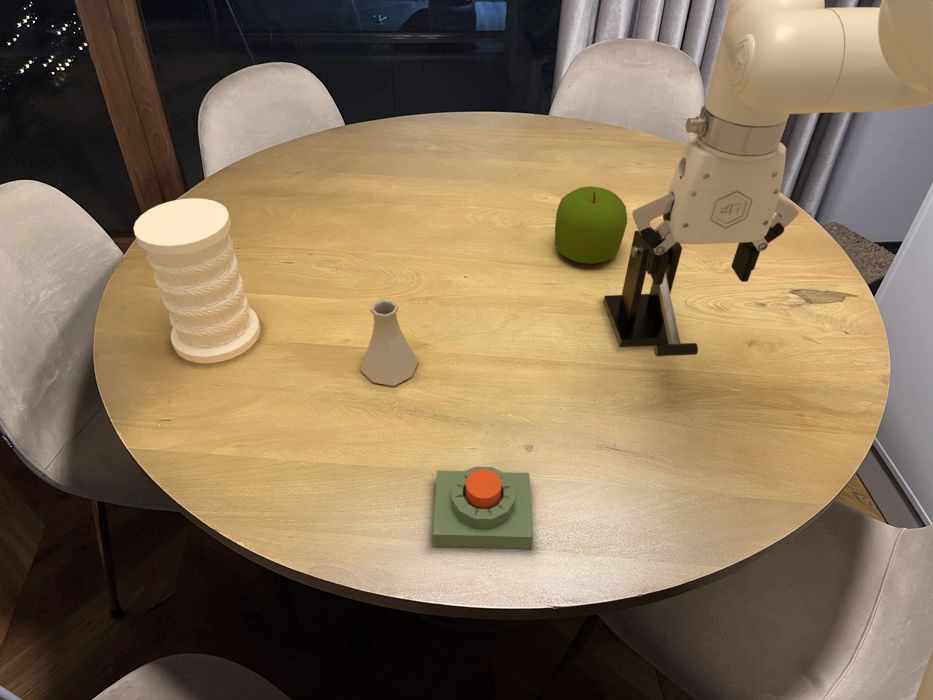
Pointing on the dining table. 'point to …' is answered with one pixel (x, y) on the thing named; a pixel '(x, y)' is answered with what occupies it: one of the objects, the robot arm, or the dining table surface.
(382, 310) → the flask
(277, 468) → the dining table surface
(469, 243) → the dining table surface
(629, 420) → the dining table surface
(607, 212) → the apple
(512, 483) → the button block
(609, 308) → the switch bracket
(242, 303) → the decorative container
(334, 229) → the dining table surface
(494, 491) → the stop button
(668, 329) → the lever
